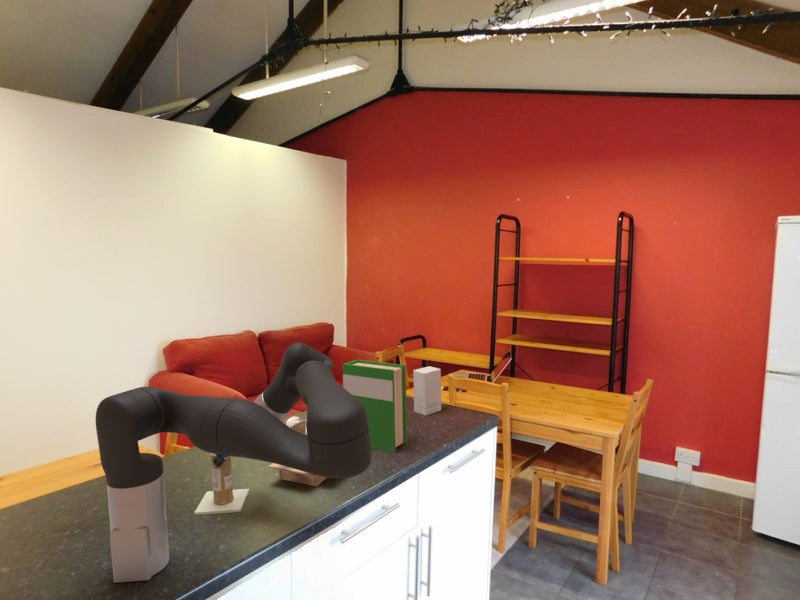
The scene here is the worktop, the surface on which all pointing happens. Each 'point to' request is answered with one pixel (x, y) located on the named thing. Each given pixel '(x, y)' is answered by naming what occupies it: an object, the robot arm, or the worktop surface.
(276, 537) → the worktop surface
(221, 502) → the sprinkles bottle
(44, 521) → the worktop surface
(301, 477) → the carton
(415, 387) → the skincare box
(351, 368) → the hardback book
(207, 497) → the coaster
